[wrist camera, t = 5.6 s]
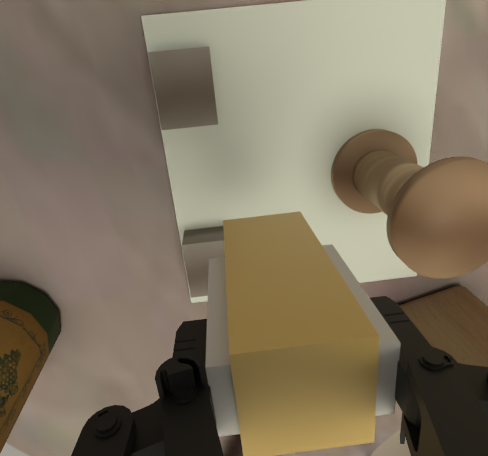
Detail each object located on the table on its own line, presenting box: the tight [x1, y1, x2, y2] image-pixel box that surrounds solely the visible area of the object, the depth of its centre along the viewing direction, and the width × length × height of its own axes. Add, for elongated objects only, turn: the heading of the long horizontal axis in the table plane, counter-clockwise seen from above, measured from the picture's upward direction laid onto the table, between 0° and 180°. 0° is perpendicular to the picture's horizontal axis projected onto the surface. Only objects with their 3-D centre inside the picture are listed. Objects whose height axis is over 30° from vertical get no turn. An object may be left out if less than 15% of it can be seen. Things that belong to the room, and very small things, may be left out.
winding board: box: [141, 0, 446, 303], centre depth 31 cm, size 24×22×1 cm
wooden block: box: [399, 286, 488, 367], centre depth 31 cm, size 10×10×20 cm
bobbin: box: [331, 129, 488, 279], centre depth 26 cm, size 7×7×12 cm
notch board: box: [148, 46, 225, 298], centre depth 29 cm, size 19×4×3 cm, turn 5°
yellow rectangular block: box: [223, 211, 379, 456], centre depth 15 cm, size 4×4×10 cm
